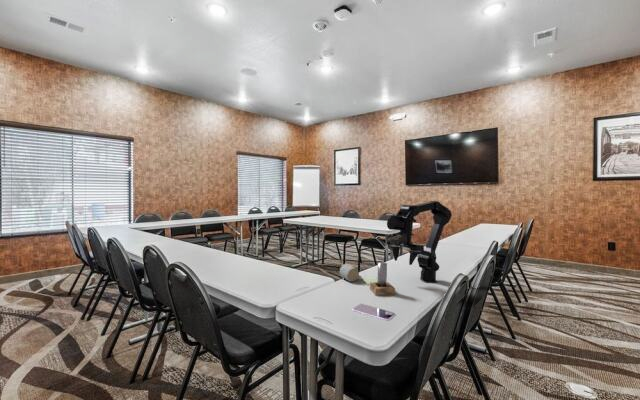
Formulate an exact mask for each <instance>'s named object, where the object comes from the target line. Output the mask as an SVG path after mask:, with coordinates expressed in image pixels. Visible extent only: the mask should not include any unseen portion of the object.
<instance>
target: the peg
mask: <svg viewBox="0 0 640 400" xmlns="http://www.w3.org/2000/svg"><path fill="white" fill-rule="evenodd" d="M387 272H388V263H387V262H382V261H381V262H377V278H378V283H377V286H378V287H386V282H388V281H387V280H388V279H387Z"/></svg>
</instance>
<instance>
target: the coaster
mask: <svg viewBox="0 0 640 400" xmlns="http://www.w3.org/2000/svg"><path fill="white" fill-rule="evenodd" d="M361 280H362V281H363V283H364V284H366V285H367V286H368V285H369V286H370V282H378V277H362V278H361Z"/></svg>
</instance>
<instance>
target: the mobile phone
mask: <svg viewBox="0 0 640 400" xmlns="http://www.w3.org/2000/svg"><path fill="white" fill-rule="evenodd" d="M351 311H353V312H356V313H359V314H363V315H366V316H369V317H372V318H375V319H378V320H379V319H380V320H382V321H385V322H387V321H390V320H391V319H393V318H394V317H395V316H396V313H395V312H394V311H389V310H386V309H382V308H380V307H379V308H378V307H376V306H371V305H368V304H364V303H359V304H358V305H355V307H353V308H352V310H351Z"/></svg>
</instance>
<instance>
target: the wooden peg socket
mask: <svg viewBox="0 0 640 400" xmlns="http://www.w3.org/2000/svg"><path fill="white" fill-rule="evenodd" d="M377 283H378V282H370V285H369V290H370V291H371V292H372V293H373V294H374V296H394V295H395V293H396V291H395V290H396V288H395V287H394V286H393V285H392V284H391V283H390V282H389V281H387V282H386V287H378V286H377Z"/></svg>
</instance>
